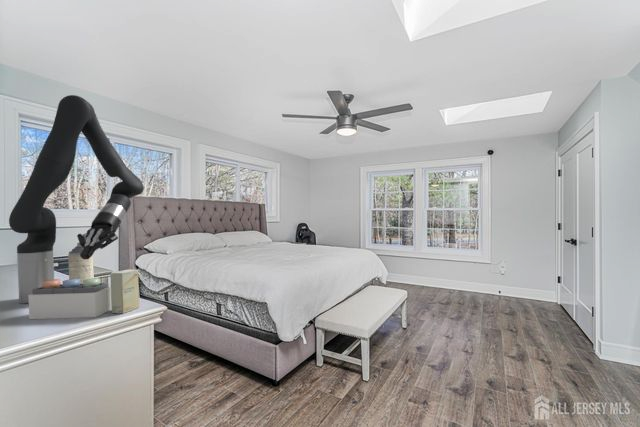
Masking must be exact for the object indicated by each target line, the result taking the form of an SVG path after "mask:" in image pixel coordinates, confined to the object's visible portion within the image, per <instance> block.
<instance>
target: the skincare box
mask: <svg viewBox="0 0 640 427" xmlns="http://www.w3.org/2000/svg"><path fill="white" fill-rule="evenodd" d="M109 274H110V287H111V308H112V309H111V313H112V314H126V313H128V312H130V311H133V310H136V309H139V308H140V289H139V288H140V287H139V269H130V268H129V269H124V270H119V271H114V272H110V273H109Z"/></svg>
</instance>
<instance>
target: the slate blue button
mask: <svg viewBox="0 0 640 427" xmlns="http://www.w3.org/2000/svg"><path fill="white" fill-rule="evenodd" d="M62 284H63V288H75V287H78V286H80V279H69V278H68V279H64V280H62Z"/></svg>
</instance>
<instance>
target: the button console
mask: <svg viewBox="0 0 640 427" xmlns="http://www.w3.org/2000/svg"><path fill="white" fill-rule="evenodd" d="M32 293H33V294H31V295H28V297H29V303H28V316H29V317H28V319H29V320H47V319H49V320H50V319H82V318H85V319H86V318H97V317H99V316H101V315H103V314H105V313H107V312H109V311H112V308H111V286H109V282H100V285H99V286H96V287H91V288H83V284H80V286H78V287H75V288H63V283H62V284H61V283H60V287H56V288H53V289H42V287H40V288H37V289H33V290H32Z"/></svg>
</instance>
